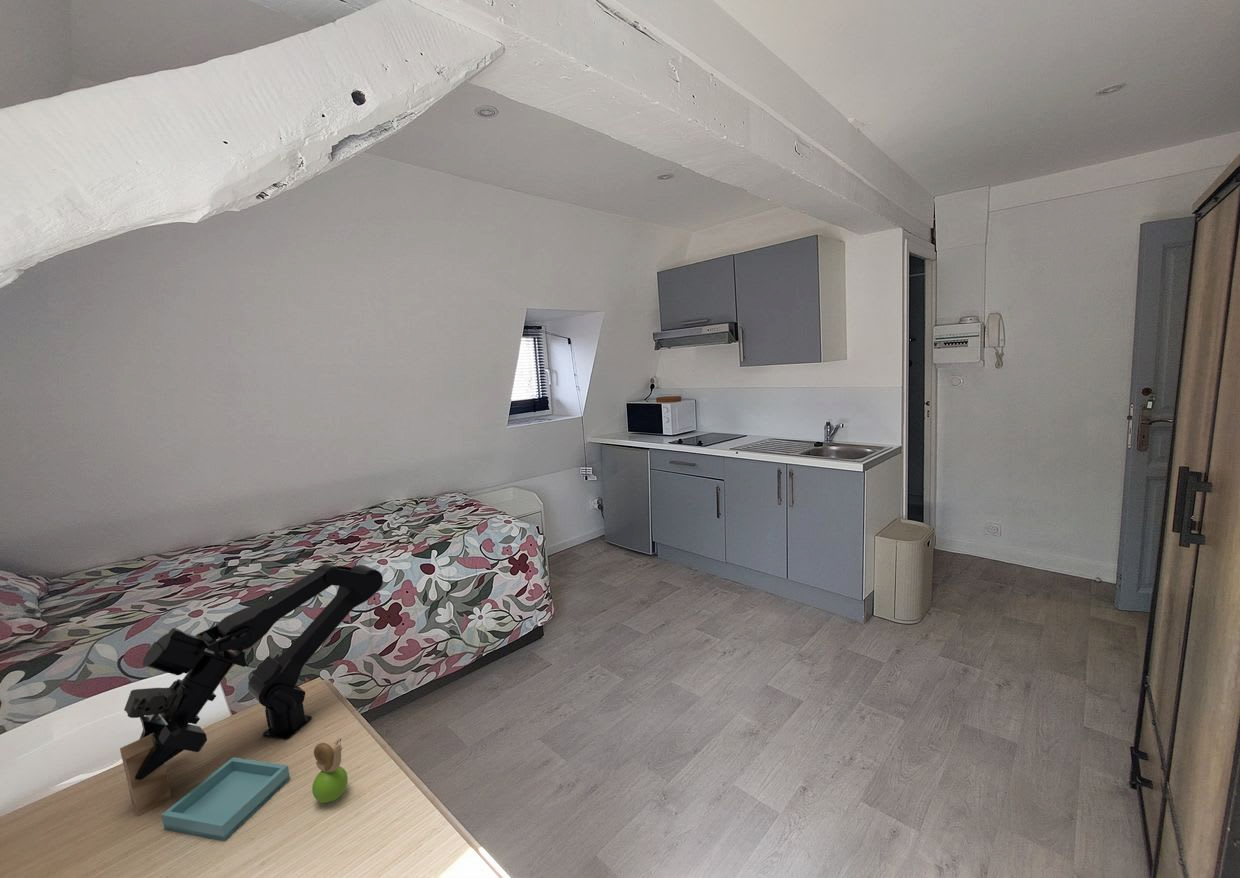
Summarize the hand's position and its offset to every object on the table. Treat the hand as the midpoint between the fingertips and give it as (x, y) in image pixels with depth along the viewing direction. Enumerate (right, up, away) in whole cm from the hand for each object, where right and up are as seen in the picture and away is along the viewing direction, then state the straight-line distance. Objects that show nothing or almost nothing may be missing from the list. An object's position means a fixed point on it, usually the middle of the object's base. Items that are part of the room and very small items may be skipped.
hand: (134, 773), depth 90 cm
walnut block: (+1, -6, +2) cm, 7 cm away
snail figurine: (+35, -5, 0) cm, 35 cm away
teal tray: (+16, -6, +1) cm, 17 cm away
